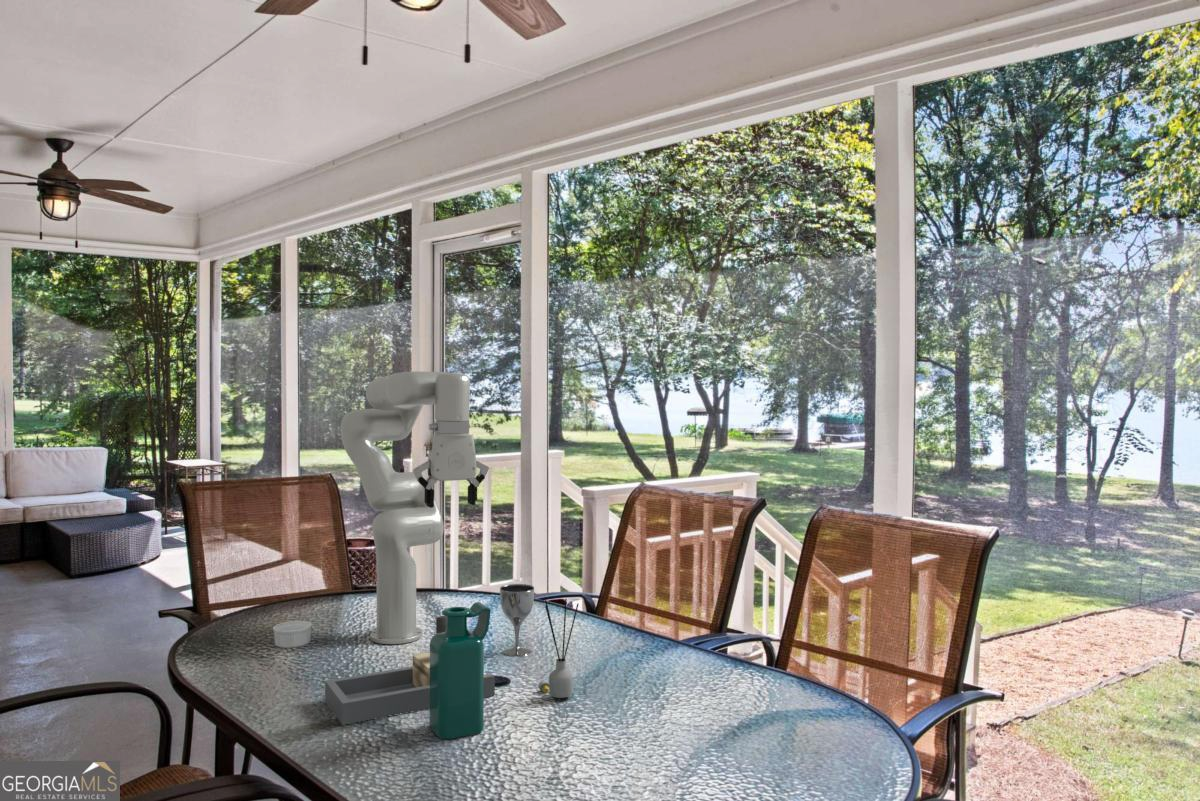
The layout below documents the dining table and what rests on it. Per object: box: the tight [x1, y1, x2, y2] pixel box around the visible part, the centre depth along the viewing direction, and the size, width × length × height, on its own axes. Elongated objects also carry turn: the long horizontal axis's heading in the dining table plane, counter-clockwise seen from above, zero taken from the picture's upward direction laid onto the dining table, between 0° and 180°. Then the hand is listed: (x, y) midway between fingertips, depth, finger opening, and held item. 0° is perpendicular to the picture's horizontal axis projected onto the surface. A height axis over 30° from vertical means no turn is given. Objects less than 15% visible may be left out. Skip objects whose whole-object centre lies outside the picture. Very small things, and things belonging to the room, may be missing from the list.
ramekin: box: [272, 620, 313, 649], centre depth 205 cm, size 9×9×4 cm
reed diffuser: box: [538, 596, 579, 699], centre depth 169 cm, size 10×7×20 cm
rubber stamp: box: [412, 615, 447, 687], centre depth 172 cm, size 10×10×14 cm
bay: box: [324, 665, 496, 726], centre depth 169 cm, size 14×30×4 cm, turn 120°
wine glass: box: [499, 583, 535, 657], centre depth 199 cm, size 8×8×15 cm
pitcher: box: [429, 601, 492, 740], centre depth 154 cm, size 10×8×22 cm
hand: (451, 505), depth 190 cm, fingers open, 9 cm apart
